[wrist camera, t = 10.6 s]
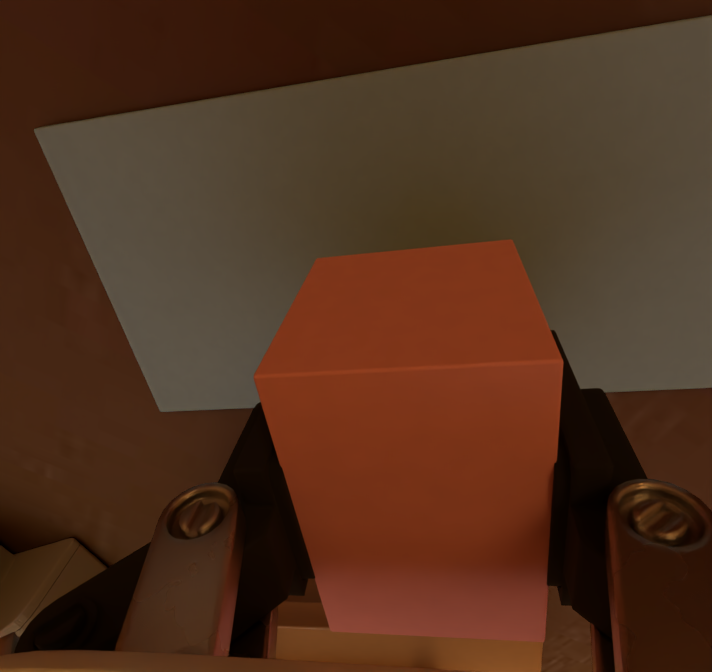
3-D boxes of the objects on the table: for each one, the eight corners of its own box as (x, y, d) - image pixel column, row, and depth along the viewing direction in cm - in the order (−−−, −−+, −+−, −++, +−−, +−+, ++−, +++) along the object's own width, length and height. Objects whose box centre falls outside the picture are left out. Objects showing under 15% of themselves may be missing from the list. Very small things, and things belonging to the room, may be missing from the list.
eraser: (315, 257, 11) (250, 376, 7) (512, 238, 10) (564, 360, 6) (358, 468, 14) (330, 632, 10) (511, 466, 13) (545, 643, 9)
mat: (43, 126, 15) (31, 128, 15) (875, -13, 11) (893, -15, 11) (165, 404, 21) (159, 412, 20) (754, 377, 17) (762, 385, 16)
